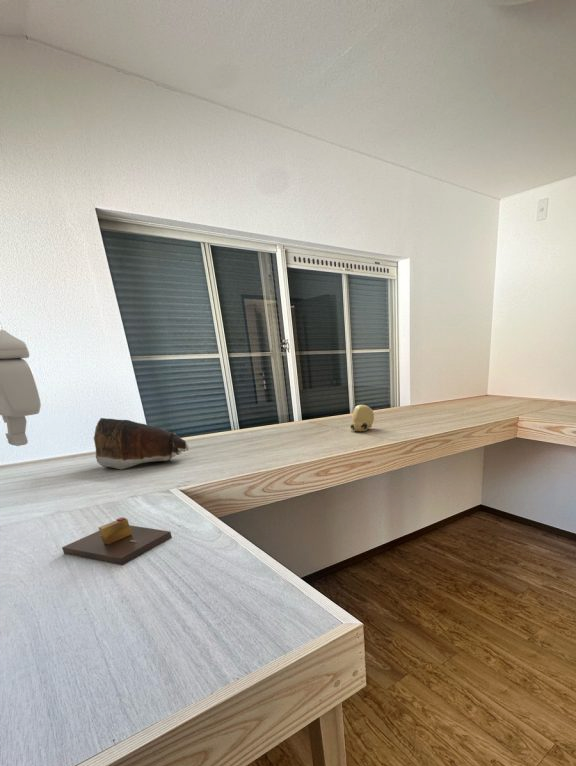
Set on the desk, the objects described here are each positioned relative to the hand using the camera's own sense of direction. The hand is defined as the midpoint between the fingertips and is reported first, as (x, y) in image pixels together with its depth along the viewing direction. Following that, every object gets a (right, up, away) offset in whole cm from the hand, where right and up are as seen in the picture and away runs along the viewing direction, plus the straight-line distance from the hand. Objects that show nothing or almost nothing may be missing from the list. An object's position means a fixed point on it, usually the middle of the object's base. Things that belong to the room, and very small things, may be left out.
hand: (1, 441), depth 63 cm
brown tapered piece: (-18, +5, +72) cm, 75 cm away
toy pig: (+49, +24, +115) cm, 127 cm away
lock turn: (+9, -16, +14) cm, 23 cm away
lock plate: (+9, -19, +15) cm, 25 cm away
